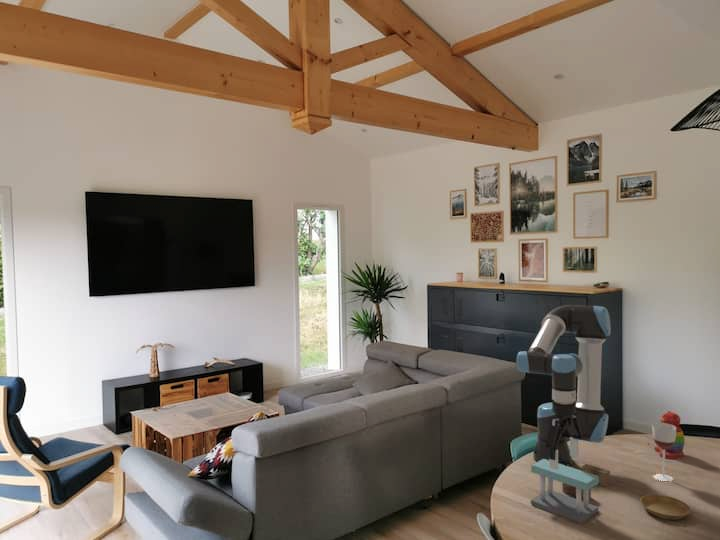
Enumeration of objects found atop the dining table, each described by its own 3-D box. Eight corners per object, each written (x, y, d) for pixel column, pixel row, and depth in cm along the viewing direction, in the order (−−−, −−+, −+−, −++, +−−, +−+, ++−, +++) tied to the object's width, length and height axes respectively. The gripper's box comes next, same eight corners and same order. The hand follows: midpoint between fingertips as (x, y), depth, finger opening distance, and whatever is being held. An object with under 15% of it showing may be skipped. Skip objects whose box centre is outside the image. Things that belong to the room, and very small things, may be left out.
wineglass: (674, 475, 209) (675, 424, 208) (677, 484, 201) (677, 431, 200) (651, 471, 212) (651, 421, 211) (652, 480, 204) (653, 428, 203)
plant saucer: (641, 498, 191) (641, 490, 191) (690, 507, 184) (690, 500, 184) (638, 516, 179) (638, 508, 179) (691, 527, 171) (691, 519, 171)
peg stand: (530, 504, 188) (530, 474, 187) (548, 493, 196) (548, 464, 195) (580, 523, 174) (580, 491, 174) (598, 511, 182) (598, 480, 182)
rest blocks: (562, 491, 197) (562, 477, 197) (586, 476, 209) (586, 464, 209) (586, 499, 190) (586, 485, 190) (609, 484, 202) (609, 471, 202)
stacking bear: (653, 448, 236) (653, 408, 235) (678, 449, 234) (679, 409, 233) (661, 458, 225) (662, 416, 224) (688, 459, 223) (689, 417, 222)
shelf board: (598, 483, 180) (598, 475, 179) (587, 490, 174) (587, 483, 174) (543, 465, 195) (543, 458, 195) (531, 472, 189) (531, 464, 189)
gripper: (555, 412, 172) (555, 477, 174) (592, 395, 189) (592, 455, 190) (533, 407, 178) (534, 470, 179) (571, 391, 194) (571, 449, 196)
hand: (564, 462), depth 185 cm, fingers open, 13 cm apart
